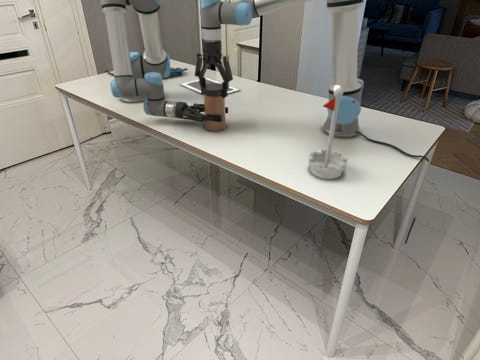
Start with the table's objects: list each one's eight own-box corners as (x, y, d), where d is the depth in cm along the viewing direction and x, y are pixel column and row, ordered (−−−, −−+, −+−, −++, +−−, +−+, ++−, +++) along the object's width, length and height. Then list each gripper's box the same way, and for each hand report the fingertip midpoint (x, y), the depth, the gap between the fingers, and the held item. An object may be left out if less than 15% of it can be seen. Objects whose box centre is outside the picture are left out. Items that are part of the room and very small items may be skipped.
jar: (225, 131, 150) (224, 91, 140) (204, 131, 150) (201, 91, 140) (226, 122, 157) (225, 84, 148) (206, 122, 158) (204, 84, 148)
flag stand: (330, 158, 128) (344, 79, 112) (352, 176, 118) (370, 92, 102) (300, 165, 124) (309, 84, 108) (320, 183, 114) (333, 97, 98)
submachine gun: (172, 62, 238) (192, 67, 221) (173, 67, 240) (192, 73, 223) (126, 71, 219) (143, 77, 202) (127, 77, 221) (145, 84, 204)
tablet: (180, 84, 205) (180, 83, 205) (207, 78, 216) (207, 77, 216) (211, 98, 184) (211, 97, 184) (240, 90, 196) (240, 89, 195)
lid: (228, 89, 148) (228, 84, 146) (221, 97, 140) (221, 91, 138) (207, 87, 150) (207, 82, 149) (198, 94, 142) (198, 89, 141)
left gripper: (187, 109, 165) (231, 113, 160) (168, 127, 147) (217, 132, 142) (185, 94, 161) (231, 97, 156) (166, 110, 143) (216, 115, 138)
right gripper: (241, 40, 132) (241, 96, 144) (193, 35, 140) (197, 88, 153) (232, 44, 126) (233, 101, 138) (182, 39, 135) (187, 93, 147)
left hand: (224, 114), depth 149 cm, fingers closed on jar, 9 cm apart
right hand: (214, 95), depth 146 cm, fingers closed on lid, 10 cm apart
